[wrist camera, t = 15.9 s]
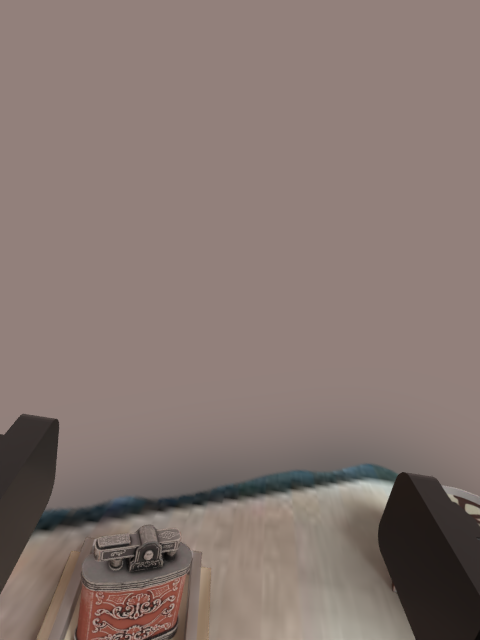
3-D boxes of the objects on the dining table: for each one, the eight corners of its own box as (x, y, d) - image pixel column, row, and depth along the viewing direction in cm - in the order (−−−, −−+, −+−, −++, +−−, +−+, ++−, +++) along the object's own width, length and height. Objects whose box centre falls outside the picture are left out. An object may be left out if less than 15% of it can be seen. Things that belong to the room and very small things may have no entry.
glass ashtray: (209, 576, 43) (214, 552, 42) (201, 758, 30) (209, 729, 29) (70, 559, 42) (73, 533, 41) (-1, 741, 29) (0, 710, 28)
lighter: (172, 603, 39) (191, 510, 36) (181, 642, 36) (203, 544, 33) (72, 623, 35) (83, 522, 32) (73, 667, 33) (85, 561, 29)
